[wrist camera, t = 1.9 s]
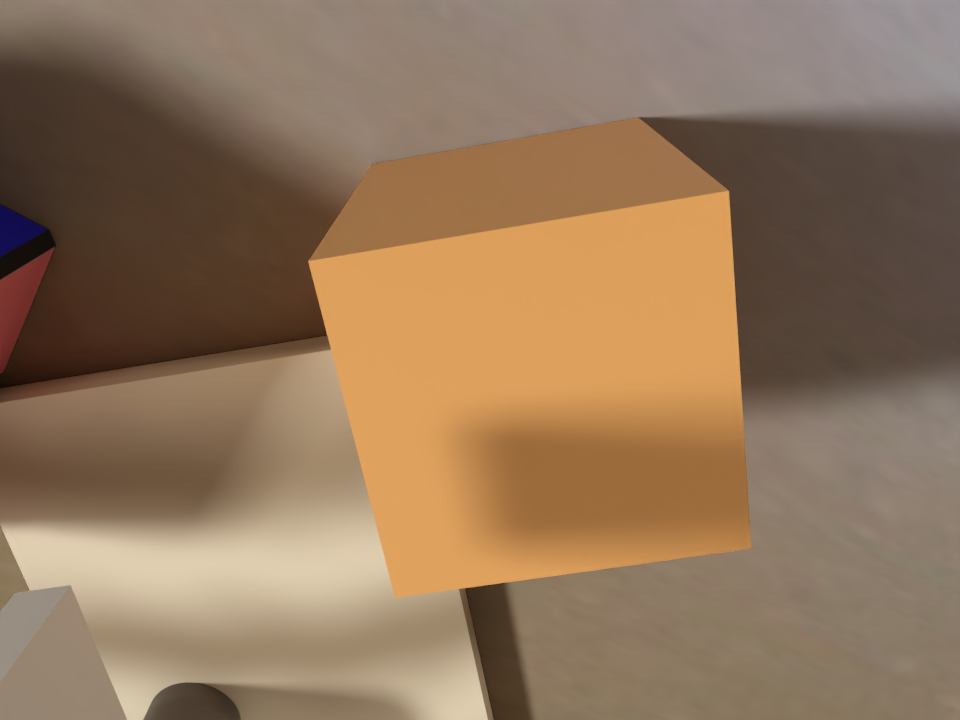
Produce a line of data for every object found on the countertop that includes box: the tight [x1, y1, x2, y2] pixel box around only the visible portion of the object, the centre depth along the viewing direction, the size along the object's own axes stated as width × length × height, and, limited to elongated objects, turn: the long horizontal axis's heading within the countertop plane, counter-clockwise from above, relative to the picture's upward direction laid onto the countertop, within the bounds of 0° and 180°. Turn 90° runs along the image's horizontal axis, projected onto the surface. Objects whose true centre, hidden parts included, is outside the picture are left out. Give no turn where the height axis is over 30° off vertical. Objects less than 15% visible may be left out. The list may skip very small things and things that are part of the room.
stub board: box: [0, 336, 494, 720], centre depth 25 cm, size 18×13×7 cm
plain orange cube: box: [308, 118, 751, 598], centre depth 20 cm, size 7×7×9 cm
